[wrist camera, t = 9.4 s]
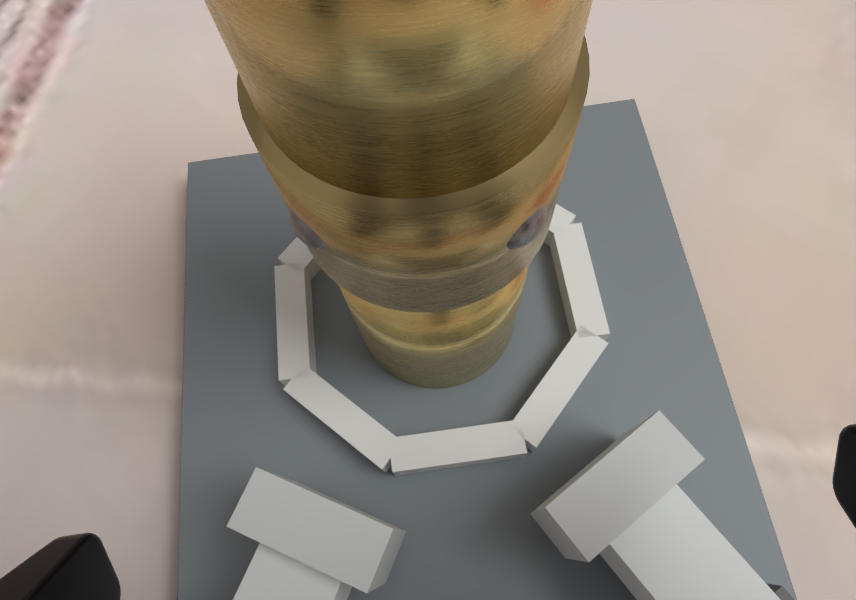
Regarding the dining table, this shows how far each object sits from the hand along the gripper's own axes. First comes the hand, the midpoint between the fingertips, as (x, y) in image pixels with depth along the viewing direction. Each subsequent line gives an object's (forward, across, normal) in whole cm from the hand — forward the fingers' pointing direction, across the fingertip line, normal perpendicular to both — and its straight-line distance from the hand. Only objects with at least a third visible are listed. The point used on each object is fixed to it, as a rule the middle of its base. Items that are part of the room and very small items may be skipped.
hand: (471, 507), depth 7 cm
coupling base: (+7, 0, +5) cm, 9 cm away
